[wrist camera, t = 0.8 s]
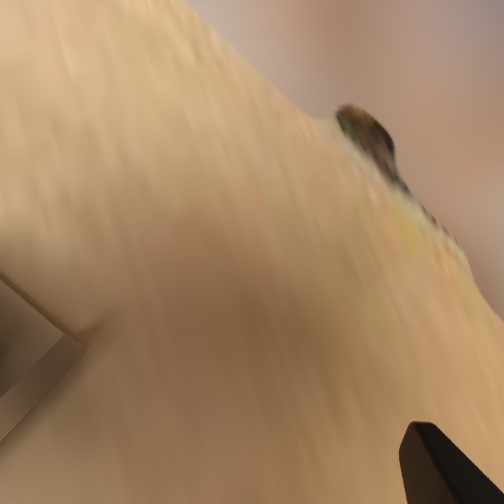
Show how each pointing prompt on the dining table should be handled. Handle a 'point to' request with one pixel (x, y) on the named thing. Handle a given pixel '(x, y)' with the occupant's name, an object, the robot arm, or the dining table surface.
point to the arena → (29, 357)
